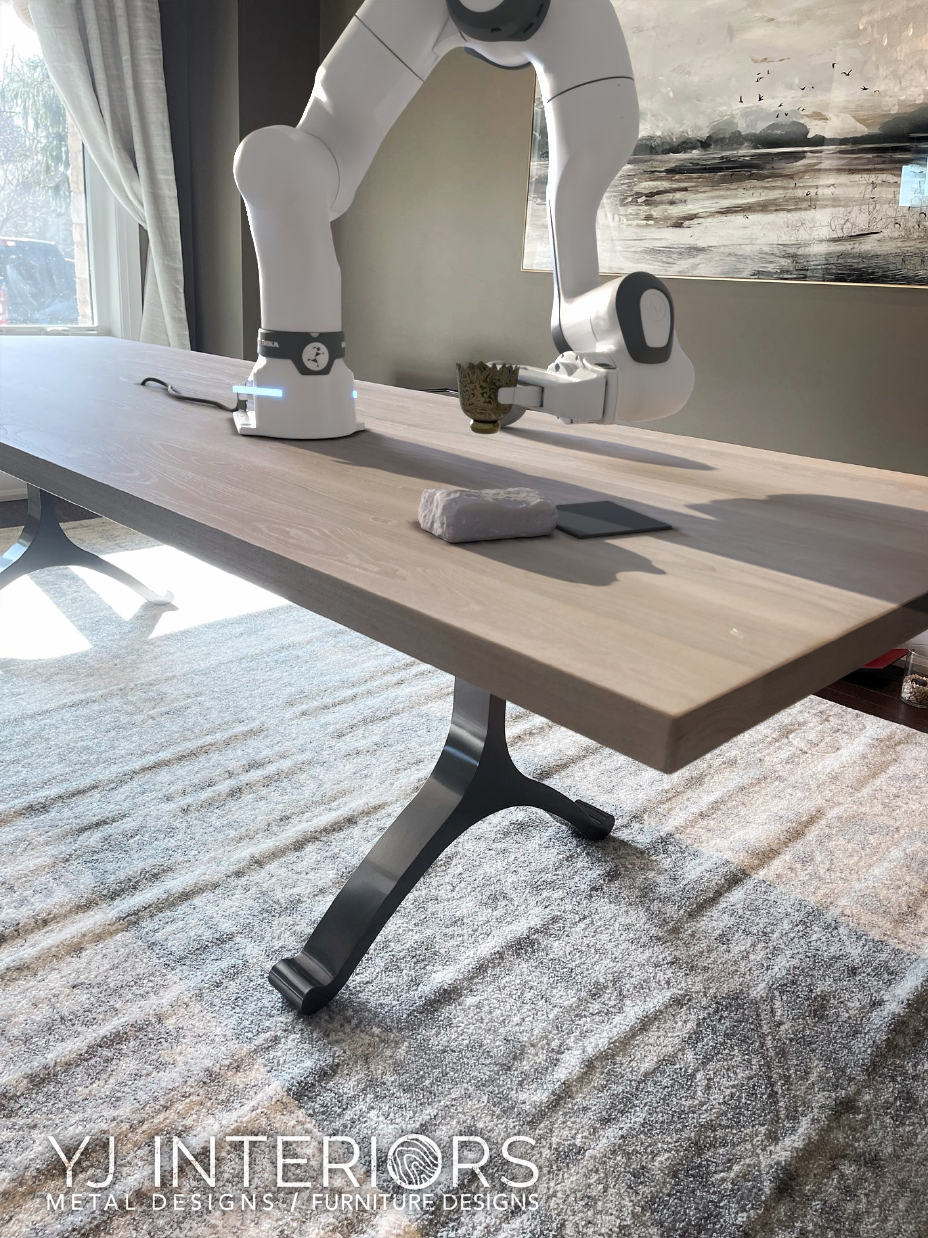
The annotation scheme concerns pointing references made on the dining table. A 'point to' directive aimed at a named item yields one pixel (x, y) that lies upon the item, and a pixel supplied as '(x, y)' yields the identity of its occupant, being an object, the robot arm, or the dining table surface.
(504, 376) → the cup
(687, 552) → the dining table surface
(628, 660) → the dining table surface
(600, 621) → the dining table surface
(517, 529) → the stone block
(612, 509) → the slate coaster
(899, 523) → the dining table surface
